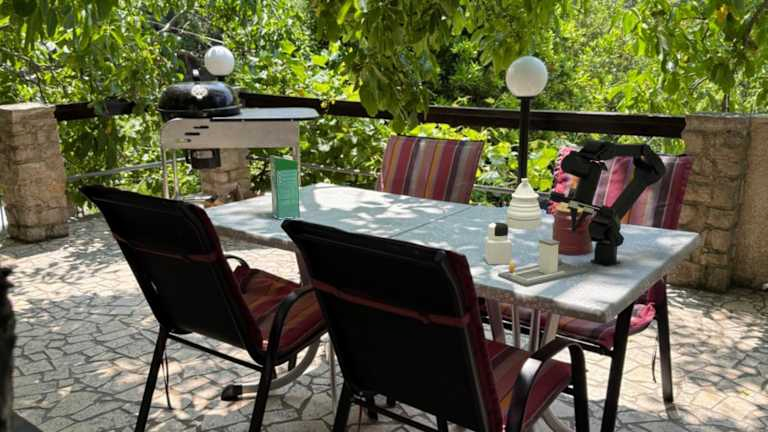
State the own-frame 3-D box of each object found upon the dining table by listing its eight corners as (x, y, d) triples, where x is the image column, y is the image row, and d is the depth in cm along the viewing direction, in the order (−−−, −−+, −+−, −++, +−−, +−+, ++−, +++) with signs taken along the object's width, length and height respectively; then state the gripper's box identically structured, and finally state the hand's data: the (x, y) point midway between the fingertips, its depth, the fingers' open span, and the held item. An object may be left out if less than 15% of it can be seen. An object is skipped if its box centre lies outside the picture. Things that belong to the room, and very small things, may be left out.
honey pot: (541, 230, 267) (543, 181, 263) (505, 229, 269) (506, 180, 265) (541, 222, 279) (542, 175, 275) (507, 221, 281) (508, 174, 278)
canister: (562, 243, 248) (564, 192, 244) (598, 249, 240) (601, 196, 236) (544, 251, 238) (546, 198, 235) (581, 258, 230) (584, 203, 227)
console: (558, 262, 226) (558, 250, 225) (587, 272, 216) (588, 259, 215) (498, 276, 213) (498, 263, 212) (526, 286, 203) (526, 273, 202)
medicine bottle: (506, 257, 232) (507, 220, 229) (511, 264, 225) (512, 226, 222) (484, 258, 232) (484, 221, 229) (488, 264, 225) (488, 226, 222)
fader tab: (546, 269, 215) (547, 238, 213) (558, 273, 211) (559, 241, 209) (537, 271, 214) (538, 240, 212) (549, 275, 210) (550, 243, 208)
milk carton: (300, 218, 292) (297, 155, 287) (277, 220, 289) (274, 157, 284) (294, 213, 301) (291, 153, 295) (272, 215, 297) (269, 154, 292)
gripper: (616, 192, 221) (601, 241, 221) (555, 175, 224) (541, 224, 225) (621, 189, 210) (605, 242, 210) (557, 172, 213) (542, 223, 214)
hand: (572, 232), depth 215 cm, fingers closed
